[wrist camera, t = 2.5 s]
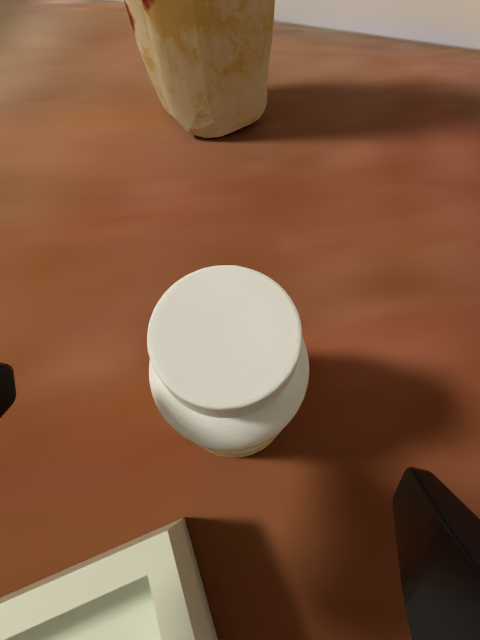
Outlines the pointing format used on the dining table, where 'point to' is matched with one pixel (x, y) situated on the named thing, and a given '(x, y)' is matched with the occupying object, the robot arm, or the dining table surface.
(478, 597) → the robot arm
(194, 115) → the food model
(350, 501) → the dining table surface
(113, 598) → the bin
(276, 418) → the supplement bottle
